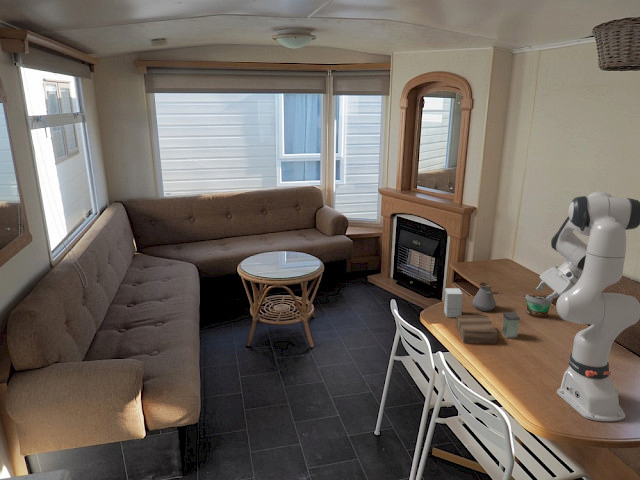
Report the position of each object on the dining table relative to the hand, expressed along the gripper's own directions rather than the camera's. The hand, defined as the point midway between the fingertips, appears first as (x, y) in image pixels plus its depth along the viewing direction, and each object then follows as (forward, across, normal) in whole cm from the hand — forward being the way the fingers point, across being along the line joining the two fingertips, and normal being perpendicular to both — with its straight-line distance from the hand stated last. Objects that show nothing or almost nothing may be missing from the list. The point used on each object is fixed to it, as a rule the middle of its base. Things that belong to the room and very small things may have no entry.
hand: (542, 294), depth 205 cm
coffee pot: (+24, -24, +4) cm, 34 cm away
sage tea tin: (+23, 0, +5) cm, 23 cm away
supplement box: (+37, -22, -9) cm, 44 cm away
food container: (+8, -18, +20) cm, 29 cm away
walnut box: (+34, 0, -5) cm, 34 cm away
